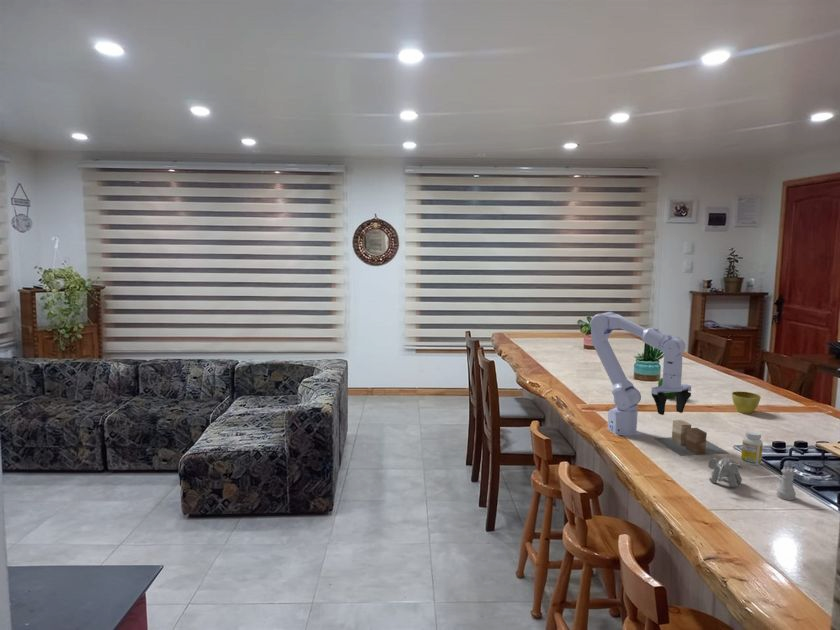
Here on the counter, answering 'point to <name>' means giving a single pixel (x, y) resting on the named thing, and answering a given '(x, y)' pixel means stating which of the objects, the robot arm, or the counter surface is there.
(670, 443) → the mat
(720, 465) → the elephant statuette
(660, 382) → the bell pepper
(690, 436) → the walnut block
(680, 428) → the beech block
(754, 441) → the supplement bottle
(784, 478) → the rook chess piece
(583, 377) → the counter surface
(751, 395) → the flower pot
